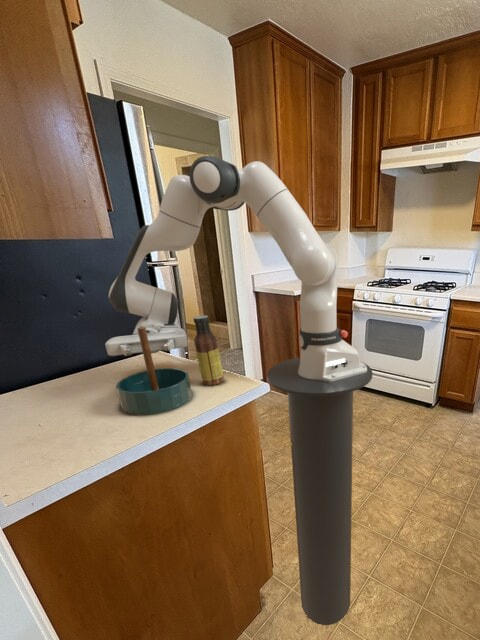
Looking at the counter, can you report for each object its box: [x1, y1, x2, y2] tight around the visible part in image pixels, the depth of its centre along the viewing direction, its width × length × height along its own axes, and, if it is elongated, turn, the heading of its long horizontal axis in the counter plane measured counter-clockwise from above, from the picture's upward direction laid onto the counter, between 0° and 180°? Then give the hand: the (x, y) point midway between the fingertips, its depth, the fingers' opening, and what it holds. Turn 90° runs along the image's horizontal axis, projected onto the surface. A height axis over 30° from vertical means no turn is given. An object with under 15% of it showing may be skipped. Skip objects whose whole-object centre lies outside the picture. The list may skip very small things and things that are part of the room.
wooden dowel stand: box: [137, 327, 159, 391], centre depth 91 cm, size 5×5×19 cm
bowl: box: [115, 367, 193, 416], centre depth 94 cm, size 17×17×6 cm
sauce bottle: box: [192, 315, 225, 386], centre depth 102 cm, size 7×6×20 cm
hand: (147, 350), depth 91 cm, fingers open, 8 cm apart
